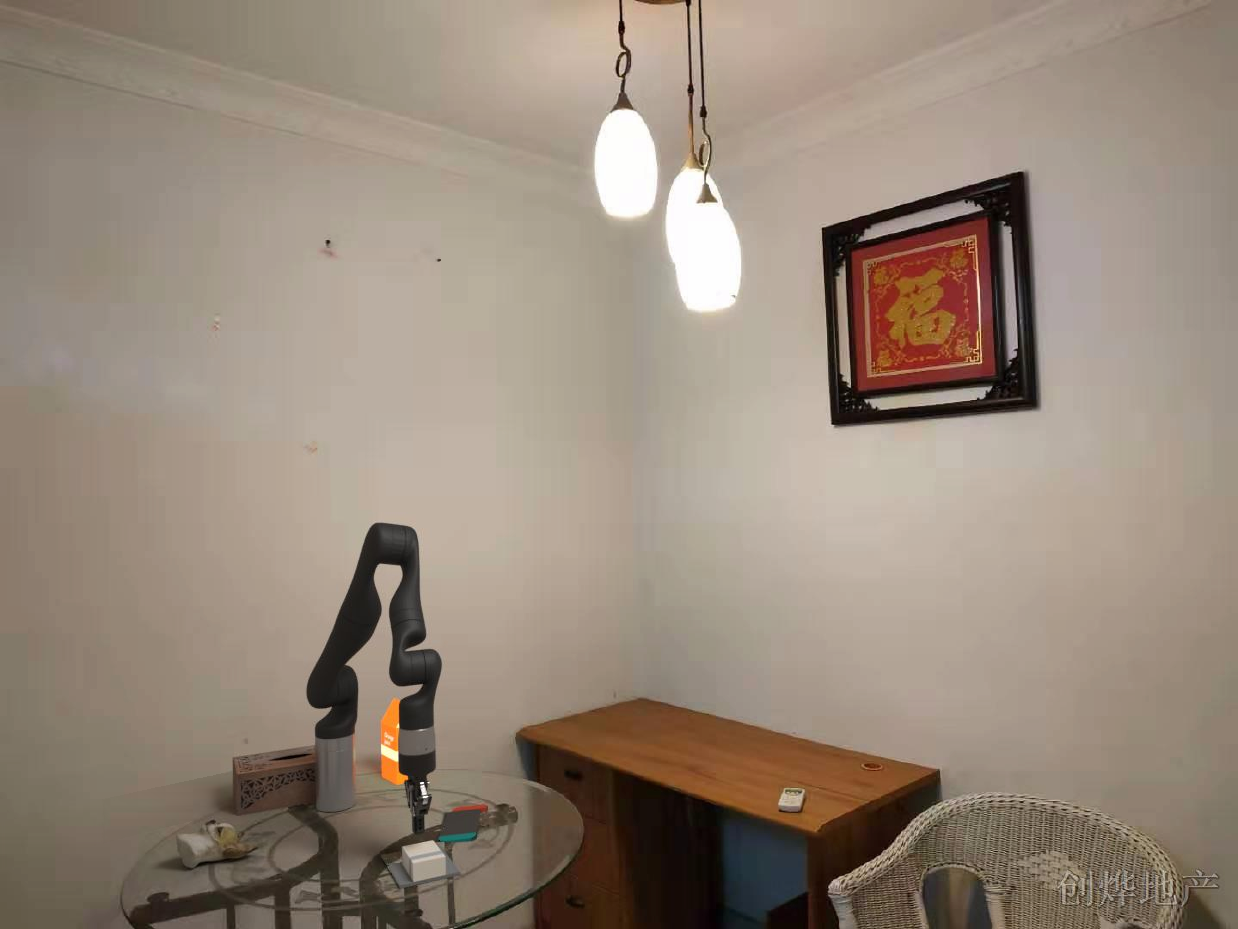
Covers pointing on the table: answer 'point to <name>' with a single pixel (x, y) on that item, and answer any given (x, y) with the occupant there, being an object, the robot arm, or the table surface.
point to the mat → (405, 880)
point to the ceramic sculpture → (211, 844)
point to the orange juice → (391, 744)
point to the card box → (423, 861)
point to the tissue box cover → (274, 780)
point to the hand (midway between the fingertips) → (418, 832)
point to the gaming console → (461, 824)
